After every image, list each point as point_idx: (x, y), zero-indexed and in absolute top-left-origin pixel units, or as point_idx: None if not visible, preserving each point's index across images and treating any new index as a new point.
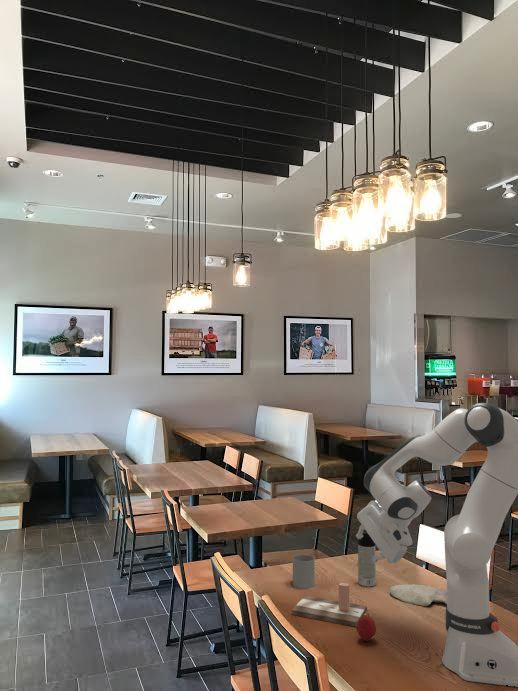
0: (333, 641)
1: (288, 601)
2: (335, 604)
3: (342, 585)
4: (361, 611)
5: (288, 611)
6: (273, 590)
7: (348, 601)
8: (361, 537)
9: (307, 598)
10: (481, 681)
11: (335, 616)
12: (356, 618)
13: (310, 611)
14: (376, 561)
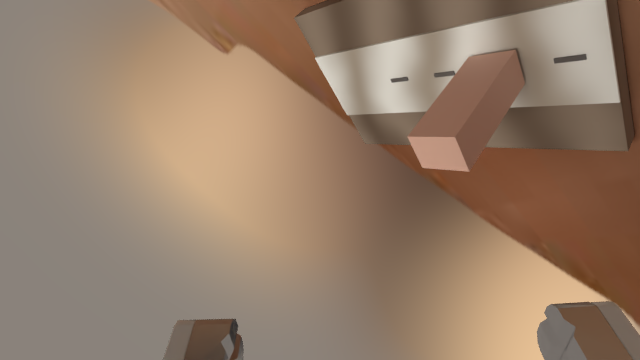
0: (593, 248)
1: (292, 56)
2: (425, 25)
3: (441, 168)
4: (596, 31)
5: (350, 119)
6: (208, 9)
7: (502, 93)
8: (220, 342)
9: (317, 39)
10: None
11: (503, 135)
12: (607, 117)
13: (407, 132)
14: (618, 319)
